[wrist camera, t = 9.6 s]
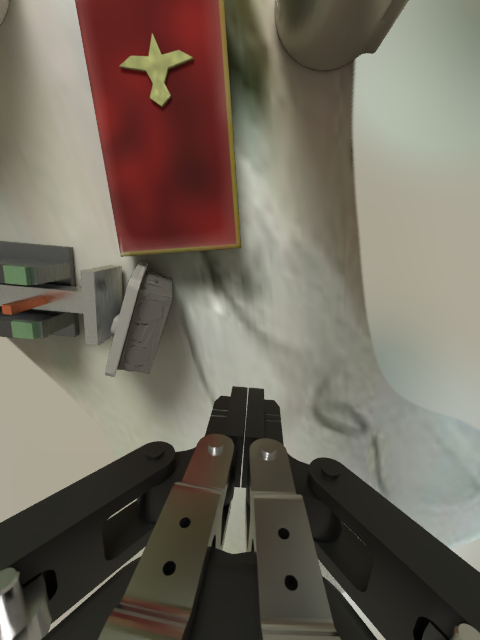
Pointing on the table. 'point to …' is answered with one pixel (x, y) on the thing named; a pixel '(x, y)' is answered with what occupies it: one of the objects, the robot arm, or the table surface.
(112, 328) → the electrical switch
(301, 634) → the robot arm
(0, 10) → the green-shelled ribbed roller
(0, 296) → the plunger
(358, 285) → the table surface
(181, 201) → the hardcover book
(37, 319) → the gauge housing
